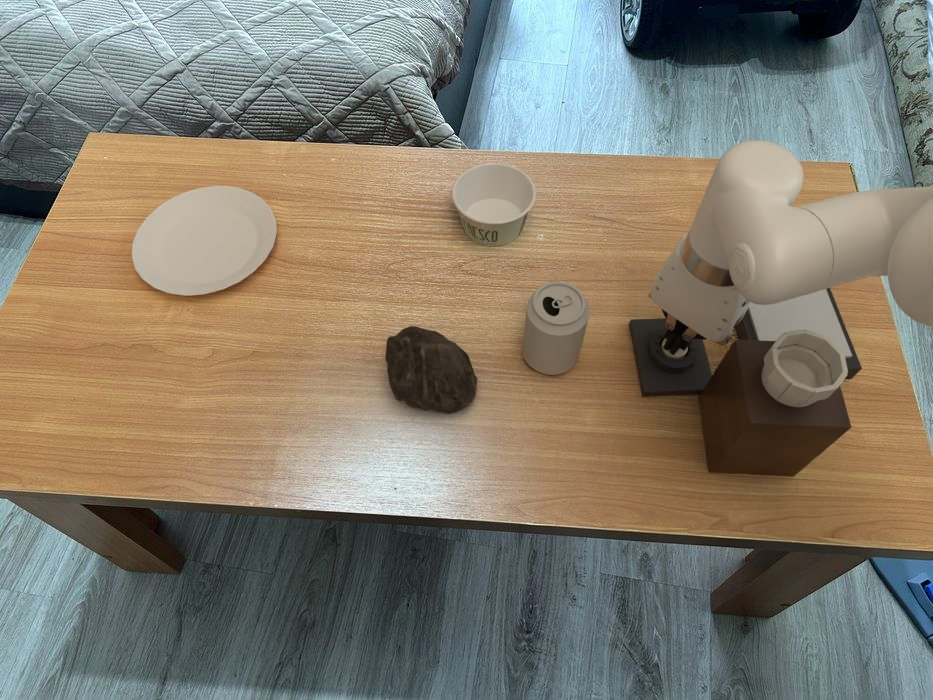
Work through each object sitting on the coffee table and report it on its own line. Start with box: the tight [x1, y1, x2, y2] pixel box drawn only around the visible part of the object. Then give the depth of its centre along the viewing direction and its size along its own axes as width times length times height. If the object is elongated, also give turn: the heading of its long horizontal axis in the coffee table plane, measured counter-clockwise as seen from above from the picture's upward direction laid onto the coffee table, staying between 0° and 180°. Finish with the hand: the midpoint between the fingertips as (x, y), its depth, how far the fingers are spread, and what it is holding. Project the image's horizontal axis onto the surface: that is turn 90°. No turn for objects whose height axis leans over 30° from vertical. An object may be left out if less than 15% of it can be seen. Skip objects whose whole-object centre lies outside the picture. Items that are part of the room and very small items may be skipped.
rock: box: [384, 325, 479, 415], centre depth 80 cm, size 10×11×10 cm
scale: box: [734, 288, 863, 380], centre depth 86 cm, size 15×13×3 cm
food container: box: [451, 162, 537, 247], centre depth 96 cm, size 12×12×6 cm
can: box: [521, 280, 590, 376], centre depth 81 cm, size 8×8×12 cm
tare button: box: [660, 338, 688, 359], centre depth 83 cm, size 3×3×2 cm
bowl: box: [761, 329, 848, 407], centre depth 66 cm, size 7×7×4 cm
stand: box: [697, 339, 852, 477], centre depth 74 cm, size 10×10×14 cm
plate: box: [131, 185, 278, 297], centre depth 96 cm, size 21×21×2 cm
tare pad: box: [628, 317, 713, 398], centre depth 84 cm, size 11×9×3 cm
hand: (674, 344), depth 83 cm, fingers closed
